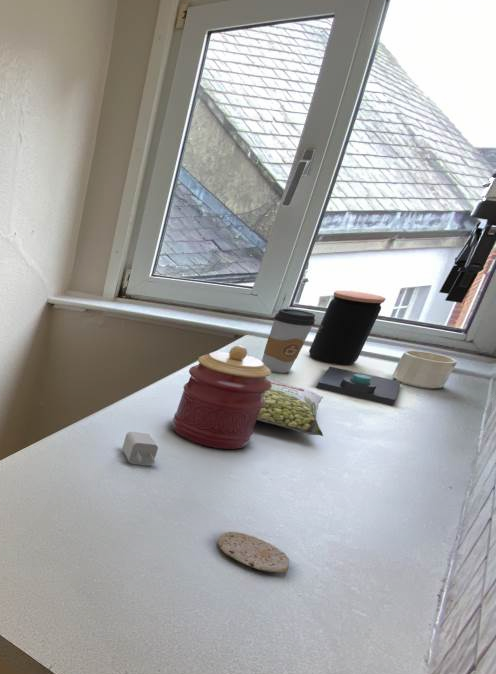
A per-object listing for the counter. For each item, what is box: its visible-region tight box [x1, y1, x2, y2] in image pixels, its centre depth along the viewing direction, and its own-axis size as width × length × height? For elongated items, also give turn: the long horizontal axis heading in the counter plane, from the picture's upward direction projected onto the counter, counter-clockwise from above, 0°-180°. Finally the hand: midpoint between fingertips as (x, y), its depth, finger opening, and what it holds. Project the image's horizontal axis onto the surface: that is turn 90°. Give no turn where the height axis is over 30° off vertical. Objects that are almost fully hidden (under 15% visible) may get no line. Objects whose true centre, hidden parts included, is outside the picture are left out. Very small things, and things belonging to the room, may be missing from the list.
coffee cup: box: [261, 308, 316, 374], centre depth 140 cm, size 8×8×15 cm
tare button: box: [351, 374, 371, 385], centre depth 127 cm, size 3×3×2 cm
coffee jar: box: [308, 290, 386, 366], centre depth 149 cm, size 11×11×18 cm
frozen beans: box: [257, 380, 324, 437], centre depth 115 cm, size 21×6×25 cm
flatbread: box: [217, 531, 290, 573], centre depth 71 cm, size 8×8×1 cm
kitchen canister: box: [172, 345, 272, 450], centre depth 101 cm, size 13×13×18 cm
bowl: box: [391, 349, 458, 390], centre depth 136 cm, size 10×10×7 cm
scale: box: [316, 366, 401, 406], centre depth 132 cm, size 14×19×3 cm
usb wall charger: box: [121, 431, 159, 466], centre depth 93 cm, size 4×7×4 cm, turn 169°
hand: (449, 297), depth 130 cm, fingers open, 13 cm apart
